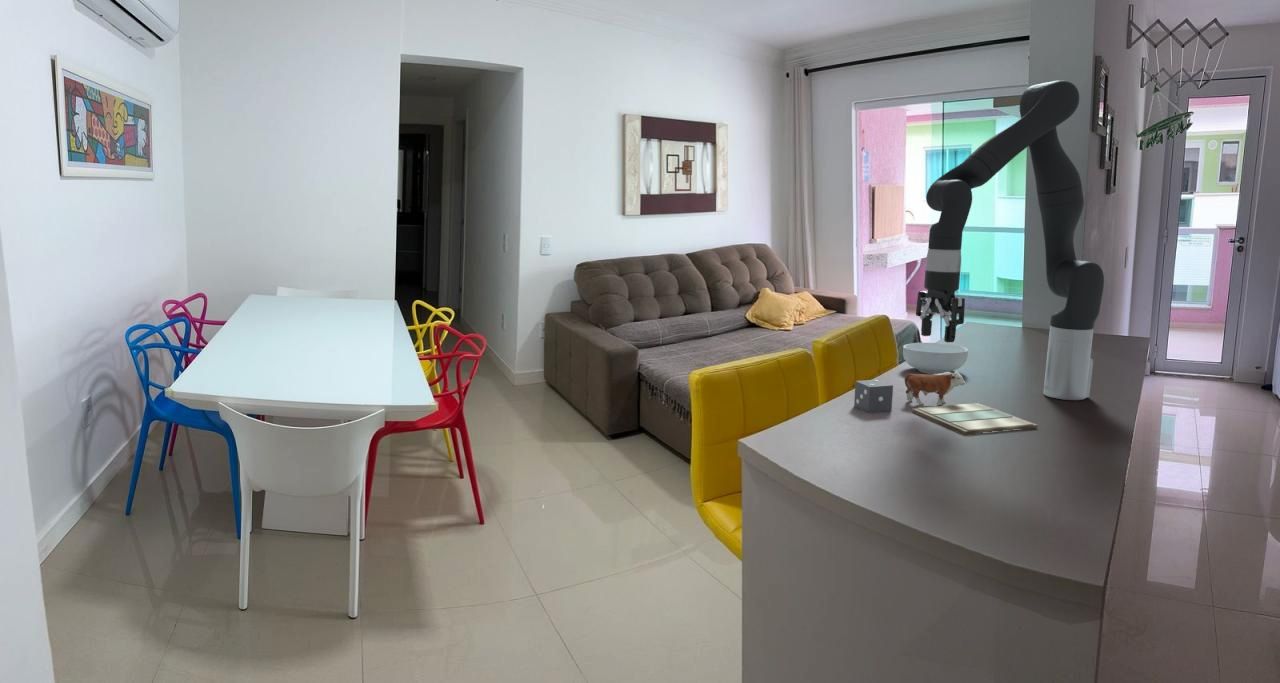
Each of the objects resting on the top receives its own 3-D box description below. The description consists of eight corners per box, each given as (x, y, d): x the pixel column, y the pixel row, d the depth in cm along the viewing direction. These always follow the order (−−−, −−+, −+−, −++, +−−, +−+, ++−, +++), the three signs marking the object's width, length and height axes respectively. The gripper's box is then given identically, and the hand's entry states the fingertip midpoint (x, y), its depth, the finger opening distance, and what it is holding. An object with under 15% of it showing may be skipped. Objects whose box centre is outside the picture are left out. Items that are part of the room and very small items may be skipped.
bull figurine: (964, 408, 179) (967, 373, 177) (903, 404, 182) (906, 370, 180) (960, 403, 183) (963, 369, 182) (901, 400, 186) (903, 367, 184)
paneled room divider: (979, 406, 180) (979, 402, 180) (1037, 428, 163) (1038, 424, 163) (912, 412, 175) (912, 407, 175) (964, 435, 158) (965, 430, 158)
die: (876, 404, 182) (878, 379, 181) (891, 411, 176) (893, 385, 175) (853, 406, 180) (855, 380, 179) (868, 412, 174) (869, 386, 173)
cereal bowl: (964, 367, 222) (966, 343, 220) (968, 380, 206) (970, 354, 205) (901, 363, 227) (903, 340, 226) (901, 375, 212) (902, 350, 210)
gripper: (978, 271, 171) (971, 343, 174) (937, 266, 184) (932, 333, 187) (948, 272, 169) (942, 345, 172) (909, 266, 182) (905, 334, 185)
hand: (937, 338), depth 179 cm, fingers open, 8 cm apart
